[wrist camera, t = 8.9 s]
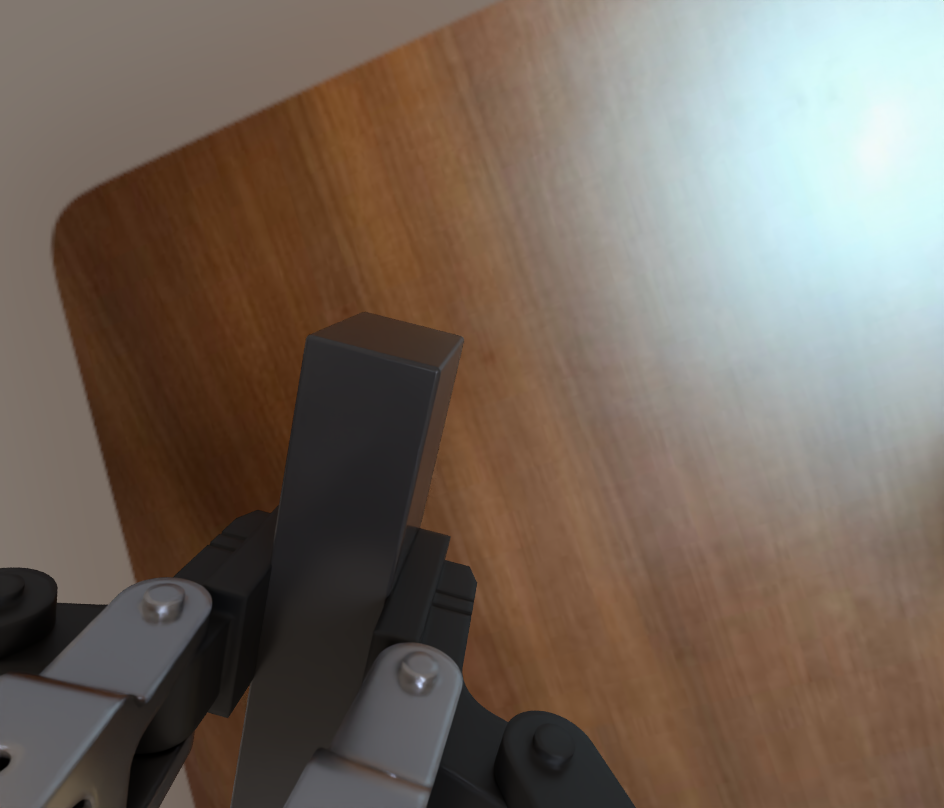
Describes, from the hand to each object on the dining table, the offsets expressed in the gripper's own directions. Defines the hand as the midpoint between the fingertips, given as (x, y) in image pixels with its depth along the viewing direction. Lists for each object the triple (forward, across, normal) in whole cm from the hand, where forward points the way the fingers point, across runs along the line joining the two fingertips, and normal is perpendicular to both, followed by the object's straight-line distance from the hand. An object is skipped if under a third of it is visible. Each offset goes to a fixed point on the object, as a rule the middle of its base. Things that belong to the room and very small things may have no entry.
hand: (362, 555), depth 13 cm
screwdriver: (0, 0, +5) cm, 5 cm away
